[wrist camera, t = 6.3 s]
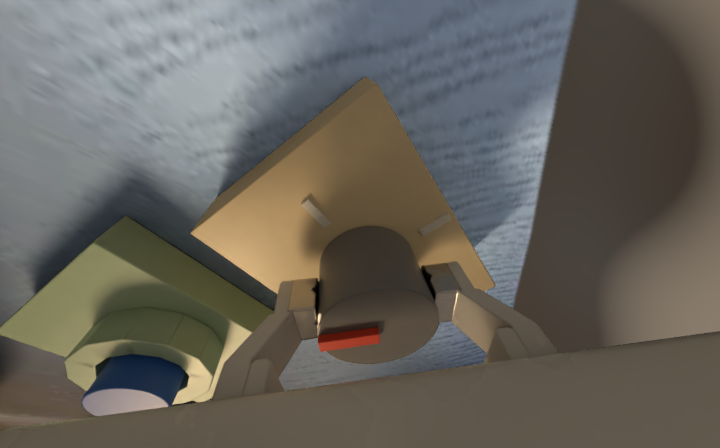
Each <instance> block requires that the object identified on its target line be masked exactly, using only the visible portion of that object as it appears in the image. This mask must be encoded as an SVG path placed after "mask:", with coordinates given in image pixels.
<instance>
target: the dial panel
mask: <svg viewBox="0 0 720 448" xmlns="http://www.w3.org/2000/svg"><path fill="white" fill-rule="evenodd" d="M365 226H378V227H384V228H388V229H391V230H393V231H395V232H397V233H398V234H400V235H401V236H403V237H404V238H405V239H406V240H407V241H408V243H409V244H410V246H411V248H412V251H413V253H414V255H415V257H416V260H417V262H418V264H419V267H420V269H421V266H422V265H429V264H437V263H445V262H453V261H457V262H458V263H459V264H460V266H461V267H462V269H463V271H464V272H465V274H466V275H467V277H468V279H469V280H470V282H471V283H472V285H473V286H474V288H475V289H480V290H482V291H484V292H485V291H487V290H488V289H490V288H492V287H494V286H495V283H494V282H493V280H492V278H491V277H490V275H489V273H488V271H487V270H486V268H485V266H484V265H483V263H482V261H481V259H480V258H479V256H478V254H477V253H476V251H475V249H474V248H473V246H472V244H471V242H470V241H469V239H468V237H467V236H466V234H465V232H464V230H463V229H462V227H461V225H460V224H459V222H458V220H457V219H456V217H455V215H454V213H453V212H452V210H451V208H450V207H449V205H448V203H447V201H446V200H445V198H444V196H443V195H442V193H441V191H440V190H439V188H438V186H437V184H436V183H435V181H434V179H433V178H432V176H431V174H430V173H429V171H428V169H427V167H426V166H425V164H424V162H423V161H422V159H421V157H420V155H419V154H418V152H417V150H416V149H415V147H414V145H413V144H412V142H411V140H410V138H409V137H408V135H407V133H406V132H405V130H404V128H403V126H402V125H401V123H400V121H399V120H398V118H397V116H396V115H395V113H394V111H393V109H392V108H391V106H390V104H389V103H388V101H387V99H386V97H385V96H384V94H383V92H382V91H381V89H380V87H379V86H378V84H376V83H375V82H373V81H372V80H370V79H368V78H367V77H364V78H362V79H361V80H360V81H359V82H358V83H356V84H355V85H354V86H353V87H351V88H350V89H349V90H348V91H347V92H345V93H344V94H343V95H342V96H340V97H339V98H338V99H337V100H336V101H334V102H333V103H332V104H331V105H329V106H328V107H327V108H326V109H325V110H323V111H322V112H321V113H320V114H318V115H317V116H316V117H315V118H314V119H312V120H311V121H310V122H309V123H307V124H306V125H305V126H304V127H303V128H301V129H300V130H299V131H298V132H296V133H295V134H294V135H293V136H292V137H290V138H289V139H288V140H287V141H285V142H284V143H283V144H282V145H281V146H279V147H278V148H277V149H276V150H274V151H273V152H272V153H271V154H270V155H268V156H267V157H266V158H265V159H263V160H262V161H261V162H260V163H259V164H257V165H256V166H255V167H254V168H252V169H251V170H250V171H249V172H248V173H246V174H245V175H244V176H243V177H241V178H240V179H239V180H238V181H237V182H235V183H234V184H233V185H232V186H230V187H229V188H228V189H227V190H226V191H224V192H223V193H222V194H221V195H219V196H218V197H217V198H216V199H215V200H214V202H213V203H212V204H211V206H210V207H209V208H208V210H207V211H206V212H205V214H204V215H203V216H202V218H201V219H200V220H199V222H198V223H197V224H196V225H195V227H194V228H193V229H192V231H191V232H190V233H191V234H192V235H193V236H195V237H196V238H198V239H199V240H200V241H202V242H203V243H205V244H206V245H208V246H209V247H210V248H212V249H213V250H215V251H216V252H218V253H219V254H221V255H222V256H223V257H225V258H226V259H228V260H229V261H231V262H232V263H233V264H235V265H236V266H238V267H239V268H241V269H242V270H243V271H245V272H246V273H248V274H249V275H251V276H252V277H253V278H255V279H256V280H258V281H259V282H261V283H262V284H263V285H265V286H266V287H268V288H269V289H271V290H272V291H273V292H275V293H276V294H278V290H279V286H280V283H281V282H282V281H291V280H299V279H310V278H318V281H319V266H320V259H321V256H322V253H323V251H324V250H325V248H326V247H327V246H328V244H329V243H330V242H331V241H332V240H333V239H335V238H336V237H337V236H339V235H341V234H342V233H344V232H346V231H349V230H351V229H355V228H359V227H365Z"/></svg>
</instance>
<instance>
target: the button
mask: <svg viewBox="0 0 720 448" xmlns="http://www.w3.org/2000/svg"><path fill="white" fill-rule="evenodd" d="M184 377H185V371H184V370H183V369H182V367H181V366H180V365H178V364H175V363H173V362H170V361H168V360H165V359H163V358H160V357H155V356H146V355H138V354H128V355H121V356H115V357H113V358H111V359H110V360H109V361H108V363H107V364H106V365H105V367H104V368H103V370H102V371H101V372H100V374H99V375H98V377H97V378H96V380H95V381H94V382H93V384H92V385H91V387H90V388H89V389H88V391H87V392H86V394H85V395H84V396H83V399H82V406H83V407H84V408H85V409H86V410H87V411H88V412H89V413H91V414H93V415H95V416H104V415H111V414H118V413H126V412H133V411H140V410H148V409H155V408H162V407H170V406H172V404H173V402H174V400H175V397H176V395H177V393H178V390H179V388H180V386H181V384H182V381H183V379H184Z"/></svg>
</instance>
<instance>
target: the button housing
mask: <svg viewBox="0 0 720 448" xmlns="http://www.w3.org/2000/svg"><path fill="white" fill-rule="evenodd" d="M273 313H274V311H272V310H271V309H269V308H268V307H266V306H265V305H263V304H262V303H260V302H258V301H257V300H255V299H254V298H252V297H251V296H249V295H248V294H246V293H245V292H243V291H241V290H240V289H238V288H237V287H235V286H234V285H232V284H231V283H229V282H228V281H226V280H224V279H223V278H221V277H220V276H218V275H217V274H215V273H214V272H212V271H211V270H209V269H207V268H206V267H204V266H203V265H201V264H200V263H198V262H197V261H195V260H194V259H192V258H190V257H189V256H187V255H186V254H184V253H183V252H181V251H180V250H178V249H177V248H175V247H173V246H172V245H170V244H169V243H167V242H166V241H164V240H163V239H161V238H160V237H158V236H157V235H155V234H153V233H152V232H150V231H149V230H147V229H146V228H144V227H143V226H141V225H140V224H138V223H136V222H135V221H133V220H132V219H130V218H129V217H127V216H125V217H123V218H122V219H121V220H119V221H118V222H117V223H116V224H114V225H113V226H112V227H111V228H109V229H108V230H107V231H106V232H104V233H103V234H102V235H101V236H100V237H98V238H97V239H96V240H95V241H93V242H92V243H91V244H90V245H89V246H88V247H87V248H86V249H85V250H83V251H82V252H81V253H80V254H79V255H78V256H77V257H76V258H75V259H74V260H73V261H71V262H70V263H69V264H68V265H67V266H66V267H65V268H64V269H63V270H62V271H60V272H59V273H58V274H57V275H56V276H55V277H54V278H53V279H52V280H51V281H50V282H48V283H47V284H46V285H45V286H44V287H43V288H42V289H41V290H40V291H39V292H37V293H36V294H35V295H34V296H33V297H32V298H31V299H30V300H29V301H28V302H27V303H25V304H24V305H23V306H22V307H21V308H20V309H19V310H18V311H17V312H16V313H15V314H13V315H12V316H11V317H10V318H9V319H8V320H7V321H6V322H5V323H4V324H2V325H1V326H0V335H2V336H5V337H8V338H11V339H14V340H17V341H20V342H23V343H25V344H28V345H31V346H34V347H37V348H40V349H43V350H46V351H49V352H52V353H55V354H58V355H61V356H64V357H66V359H65V360H64V362H65V367H66V372H67V376H68V379H70V380H71V381H73V382H74V383H76V384H77V385H78V386H80V387H81V388H83V389H84V390H86V391H88V389H89V388H90V387H91V385H92V384H93V382H94V381H95V380H96V378H97V377H98V375H99V374H100V372H101V371H102V370H103V368H104V367H105V365H106V364H107V363H108V361H109V360H110V359H111V358H113V357H115V356H121V355H128V354H138V355H146V356H155V357H160V358H163V359H165V360H168V361H170V362H173V363H175V364H178V365H180V366H181V367H182V369H183V370H184V371H185V377H184V379H183V381H182V384H181V386H180V388H179V390H178V393H177V395H176V397H175V400H174V402H173V404H172V405H174V404H180V403H186V402H190V401H195V402H198V403H199V402H206V401H207V400H209V399H211V398H212V397H213V394H214V391H215V388H216V385H217V382H218V379H219V376H220V373H221V371H222V368H223V365H224V362H225V361H226V360H227V359H228V358H229V357H230V356H231V355H232V354H233V353H234V352H235V351H236V350H237V349H238V347H239V346H240V345H241V344H242V343H243V342H244V341H245V340H246V339H247V338H248V337H249V336H250V335H251V334H252V333H253V331H254V330H255V329H256V328H257V327H258V326H259V325H260V324H261V323H262V322H263V321H264V320H265V319H266V318H267V317H268V315H269V314H273Z"/></svg>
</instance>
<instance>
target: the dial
mask: <svg viewBox="0 0 720 448" xmlns="http://www.w3.org/2000/svg"><path fill="white" fill-rule="evenodd" d="M438 325H439V310H438V308H437V306H436V303H435V301H434V299H433V296H432V294H431V292H430V290H429V287H428V285H427V283H426V280H425V278H424V276H423V273H422V271H421V269H420V267H419V264H418V262H417V260H416V257H415V255H414V253H413V251H412V248H411V246H410V244H409V243H408V241H407V240H406V239H405V238H404V237H403V236H401V235H400V234H398V233H397V232H395V231H393V230H391V229H388V228H384V227H378V226H365V227H359V228H355V229H351V230H349V231H346V232H344V233H342V234H341V235H339V236H337V237H336V238H335V239H333V240H332V241H331V242H330V243H329V244H328V246H327V247H326V248H325V250H324V251H323V253H322V256H321V259H320V266H319V296H318V327H317V335H318V345H319V348H320V351H321V352H323V351H327V352H328V353H329V354H330V355H332V356H334V357H336V358H338V359H340V360H343V361H347V362H351V363H358V364H376V363H384V362H389V361H393V360H396V359H399V358H402V357H404V356H407V355H409V354H411V353H413V352H415V351H416V350H418V349H420V348H421V347H422V346H424V345H425V344H426V343H427V342H428V341H429V340H430V339H431V338H432V337H433V335H434V334H435V332H436V330H437V328H438Z"/></svg>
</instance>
